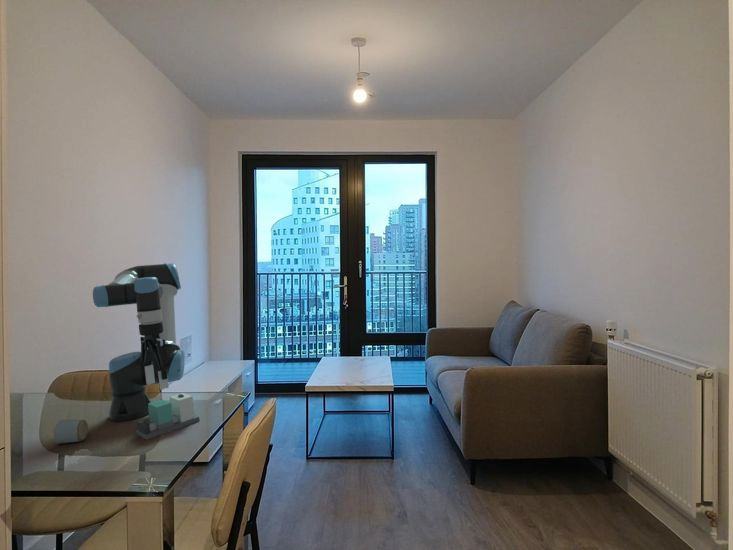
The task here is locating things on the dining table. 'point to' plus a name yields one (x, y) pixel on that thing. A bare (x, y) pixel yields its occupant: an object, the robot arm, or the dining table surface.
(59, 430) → the ceramic mug
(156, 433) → the board
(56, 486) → the dining table surface
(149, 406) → the block
